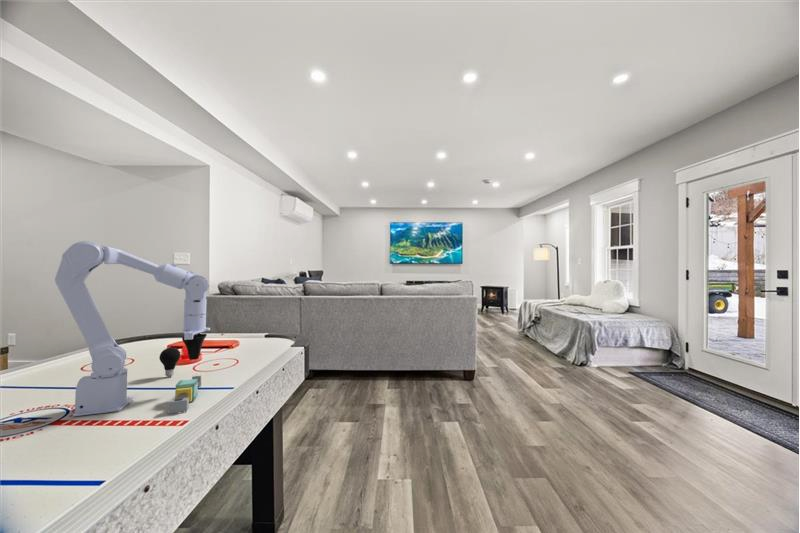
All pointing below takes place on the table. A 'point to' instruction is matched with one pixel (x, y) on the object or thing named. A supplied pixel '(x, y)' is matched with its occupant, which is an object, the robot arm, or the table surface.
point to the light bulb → (169, 360)
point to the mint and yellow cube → (187, 384)
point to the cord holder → (182, 398)
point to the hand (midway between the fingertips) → (194, 359)
